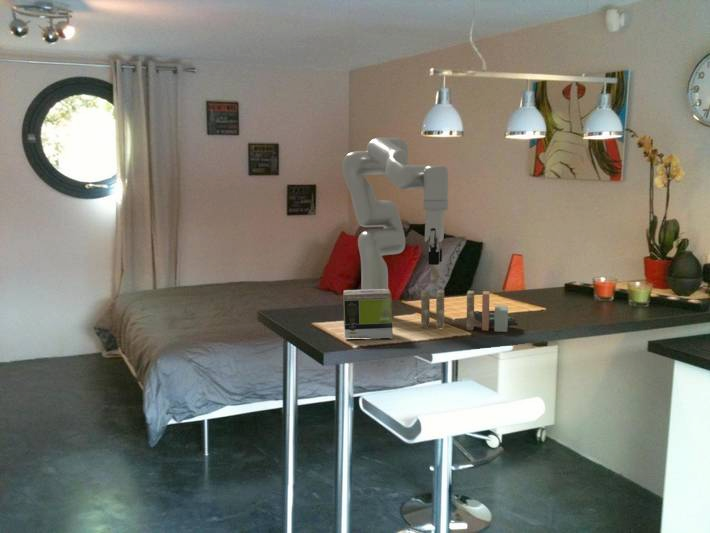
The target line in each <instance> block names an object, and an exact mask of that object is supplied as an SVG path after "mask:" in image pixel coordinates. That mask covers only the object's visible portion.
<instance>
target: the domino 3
mask: <svg viewBox="0 0 710 533" xmlns="http://www.w3.org/2000/svg"><path fill="white" fill-rule="evenodd" d="M435 294H436V295H435V296H436V297H435V298H436V299H435V303H436V304H435V305H436V306H435V310H436V312H435V319H436V320H435V321H436V322H435V323H436V324H435V326H436V328H444V327H445V290H444V289H438V290H437V291H436V293H435ZM443 326H444V327H443Z"/></svg>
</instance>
